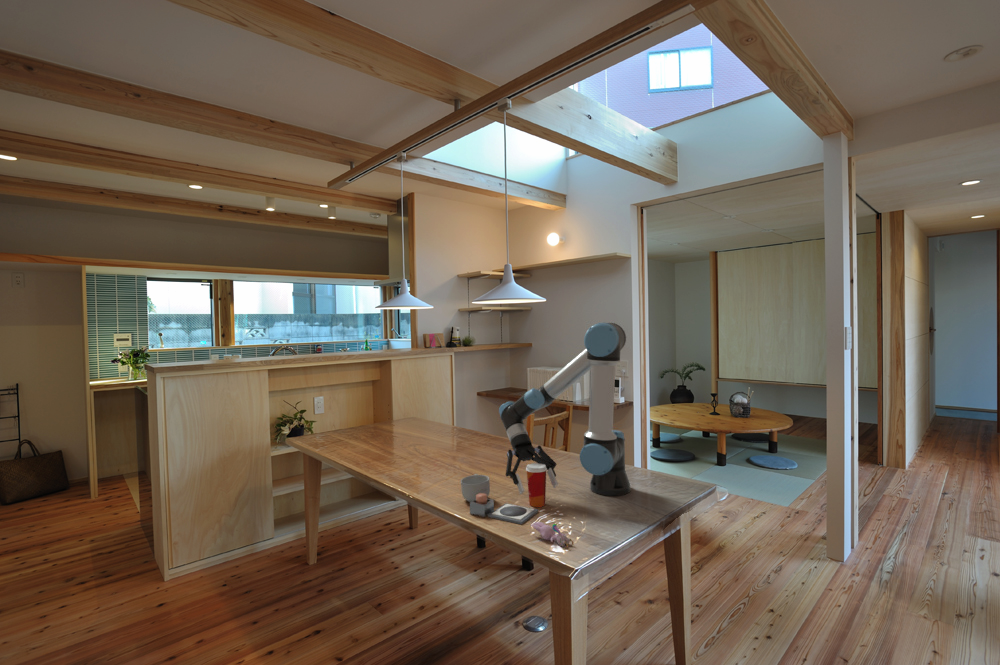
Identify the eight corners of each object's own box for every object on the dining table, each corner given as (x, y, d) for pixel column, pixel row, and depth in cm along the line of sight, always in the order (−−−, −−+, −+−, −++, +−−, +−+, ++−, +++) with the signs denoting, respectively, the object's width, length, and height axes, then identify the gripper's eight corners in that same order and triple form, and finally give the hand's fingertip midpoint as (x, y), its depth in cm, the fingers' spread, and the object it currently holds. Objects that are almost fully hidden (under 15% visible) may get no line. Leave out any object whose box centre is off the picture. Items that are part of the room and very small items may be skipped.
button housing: (494, 511, 165) (493, 499, 165) (484, 517, 159) (484, 505, 159) (479, 508, 168) (479, 496, 168) (470, 513, 163) (469, 502, 163)
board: (538, 511, 163) (538, 508, 163) (521, 524, 153) (521, 520, 153) (506, 505, 170) (505, 502, 170) (487, 517, 159) (487, 513, 159)
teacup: (486, 506, 170) (486, 483, 170) (457, 504, 172) (457, 482, 172) (494, 492, 183) (493, 472, 183) (467, 491, 185) (466, 471, 185)
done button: (489, 502, 164) (489, 494, 164) (483, 506, 161) (483, 497, 161) (480, 501, 166) (480, 492, 166) (474, 504, 163) (473, 496, 163)
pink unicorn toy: (576, 548, 138) (538, 526, 148) (578, 529, 137) (539, 508, 148) (563, 556, 134) (524, 532, 144) (565, 536, 133) (526, 514, 143)
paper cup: (534, 499, 175) (533, 461, 175) (552, 503, 170) (551, 464, 170) (522, 505, 169) (521, 466, 169) (539, 510, 164) (538, 470, 164)
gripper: (544, 440, 189) (565, 488, 175) (486, 447, 179) (504, 500, 165) (550, 429, 184) (572, 478, 170) (492, 436, 174) (510, 489, 160)
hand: (539, 489), depth 168 cm, fingers open, 13 cm apart
